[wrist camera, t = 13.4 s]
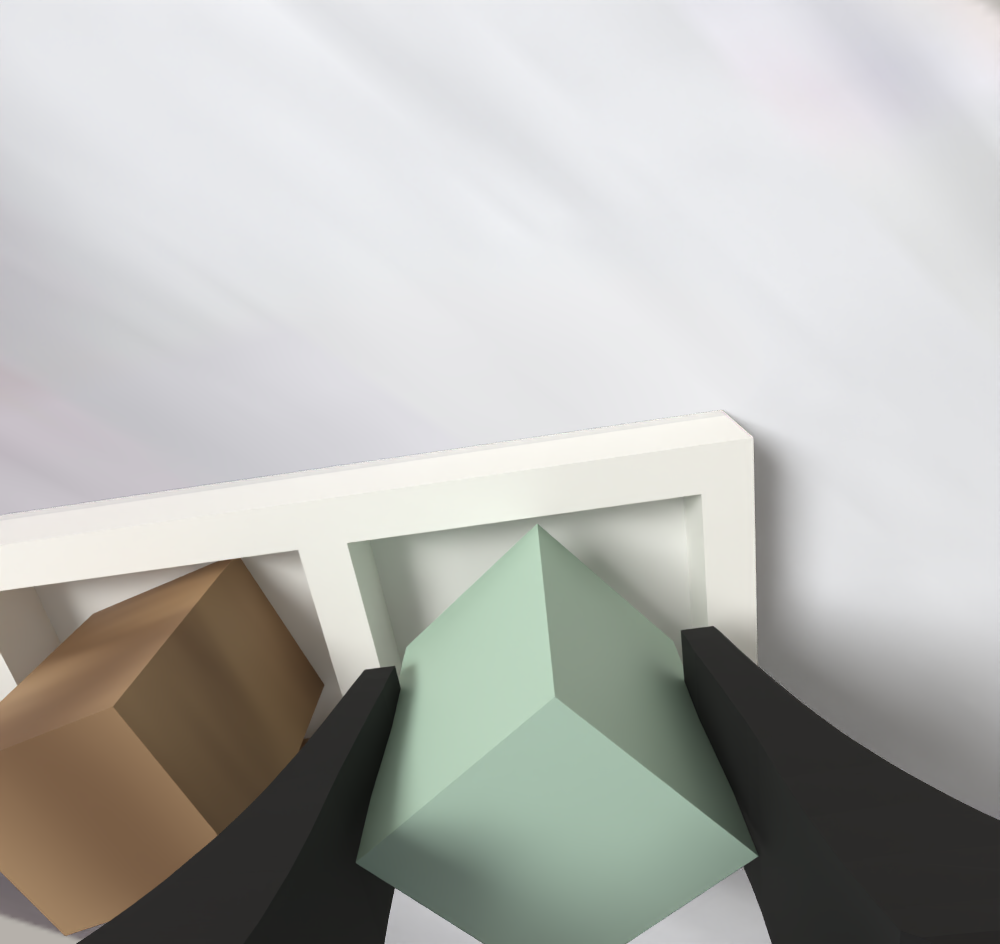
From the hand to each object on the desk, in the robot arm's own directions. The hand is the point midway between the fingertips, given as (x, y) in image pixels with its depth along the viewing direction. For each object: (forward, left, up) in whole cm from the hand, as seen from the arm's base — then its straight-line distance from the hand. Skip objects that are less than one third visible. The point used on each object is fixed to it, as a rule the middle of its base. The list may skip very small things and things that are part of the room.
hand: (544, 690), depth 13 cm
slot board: (-4, 0, -3) cm, 5 cm away
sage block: (0, 0, -1) cm, 1 cm away
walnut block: (-8, 0, -3) cm, 9 cm away
